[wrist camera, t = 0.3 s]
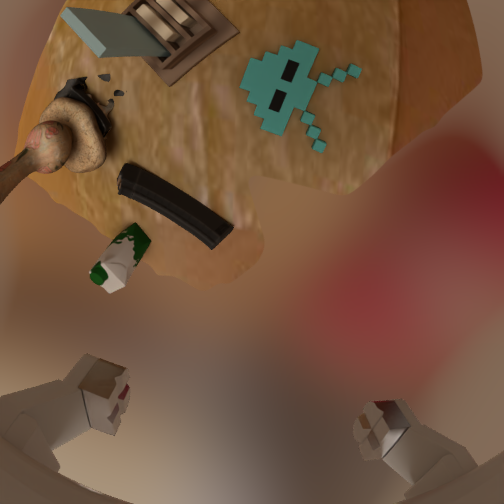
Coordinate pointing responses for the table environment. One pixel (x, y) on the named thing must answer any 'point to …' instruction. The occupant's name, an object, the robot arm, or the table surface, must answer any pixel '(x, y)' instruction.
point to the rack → (186, 37)
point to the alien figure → (287, 87)
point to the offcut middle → (159, 24)
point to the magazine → (172, 204)
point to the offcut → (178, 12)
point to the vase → (63, 137)
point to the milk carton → (120, 259)
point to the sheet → (113, 33)
